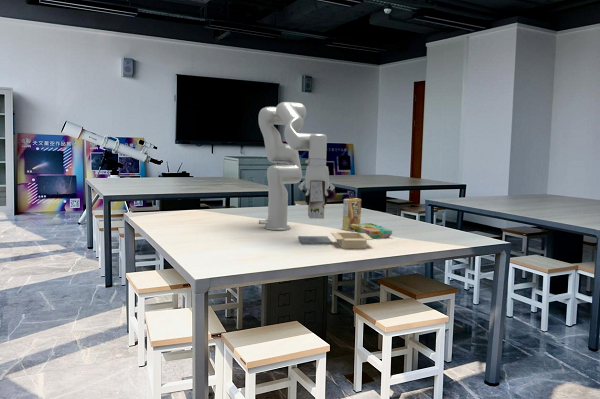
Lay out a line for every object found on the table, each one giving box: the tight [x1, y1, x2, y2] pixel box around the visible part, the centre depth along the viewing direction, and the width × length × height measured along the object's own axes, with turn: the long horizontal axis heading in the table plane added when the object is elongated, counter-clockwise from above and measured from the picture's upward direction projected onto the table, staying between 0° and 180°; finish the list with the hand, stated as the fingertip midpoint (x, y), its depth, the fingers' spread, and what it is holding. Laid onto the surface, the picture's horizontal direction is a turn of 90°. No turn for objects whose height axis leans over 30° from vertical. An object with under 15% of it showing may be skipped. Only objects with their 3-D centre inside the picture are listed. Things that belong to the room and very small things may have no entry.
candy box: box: [341, 197, 362, 231], centre depth 249 cm, size 9×4×15 cm, turn 129°
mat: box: [298, 235, 333, 245], centre depth 217 cm, size 13×13×1 cm
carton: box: [330, 231, 374, 249], centre depth 211 cm, size 15×18×4 cm
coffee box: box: [307, 181, 325, 220], centre depth 215 cm, size 9×6×16 cm
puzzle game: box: [351, 222, 393, 239], centre depth 237 cm, size 12×5×20 cm
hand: (316, 204), depth 215 cm, fingers closed on coffee box, 6 cm apart
